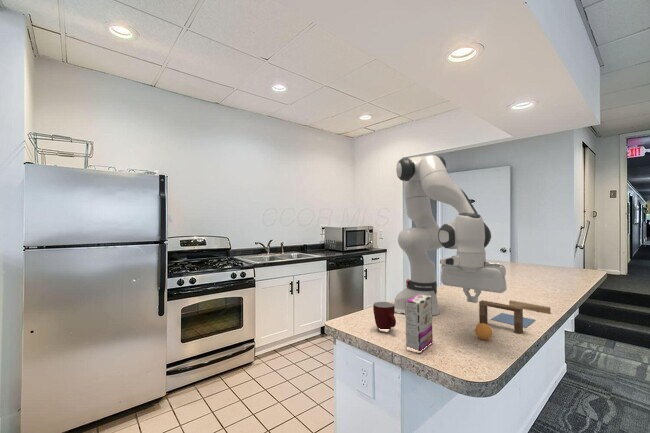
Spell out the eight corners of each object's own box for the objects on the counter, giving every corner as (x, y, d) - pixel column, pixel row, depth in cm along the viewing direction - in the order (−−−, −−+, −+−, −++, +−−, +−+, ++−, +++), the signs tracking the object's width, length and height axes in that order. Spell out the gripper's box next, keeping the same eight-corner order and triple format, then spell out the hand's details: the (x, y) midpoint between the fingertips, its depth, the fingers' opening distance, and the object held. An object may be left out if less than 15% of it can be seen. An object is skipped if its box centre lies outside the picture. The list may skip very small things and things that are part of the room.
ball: (476, 341, 105) (475, 325, 105) (474, 335, 110) (473, 320, 110) (493, 343, 103) (493, 327, 103) (490, 337, 108) (490, 321, 108)
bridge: (520, 334, 110) (519, 309, 111) (479, 324, 121) (479, 301, 122) (523, 332, 112) (522, 307, 113) (482, 322, 123) (482, 300, 124)
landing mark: (525, 327, 117) (525, 327, 117) (490, 319, 127) (490, 319, 127) (535, 320, 125) (535, 319, 125) (501, 313, 135) (501, 312, 135)
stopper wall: (549, 313, 134) (549, 308, 134) (509, 306, 146) (509, 301, 146) (550, 312, 135) (550, 307, 135) (510, 305, 147) (510, 300, 147)
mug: (404, 333, 113) (404, 306, 113) (388, 338, 108) (388, 310, 108) (384, 325, 121) (383, 300, 122) (369, 329, 117) (369, 303, 117)
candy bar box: (419, 339, 107) (418, 293, 107) (433, 343, 103) (432, 295, 103) (405, 350, 98) (404, 300, 98) (419, 354, 95) (419, 302, 95)
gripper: (508, 262, 95) (510, 306, 95) (447, 257, 111) (448, 295, 110) (501, 264, 91) (503, 310, 91) (438, 259, 106) (439, 298, 106)
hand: (472, 302), depth 100 cm, fingers closed
